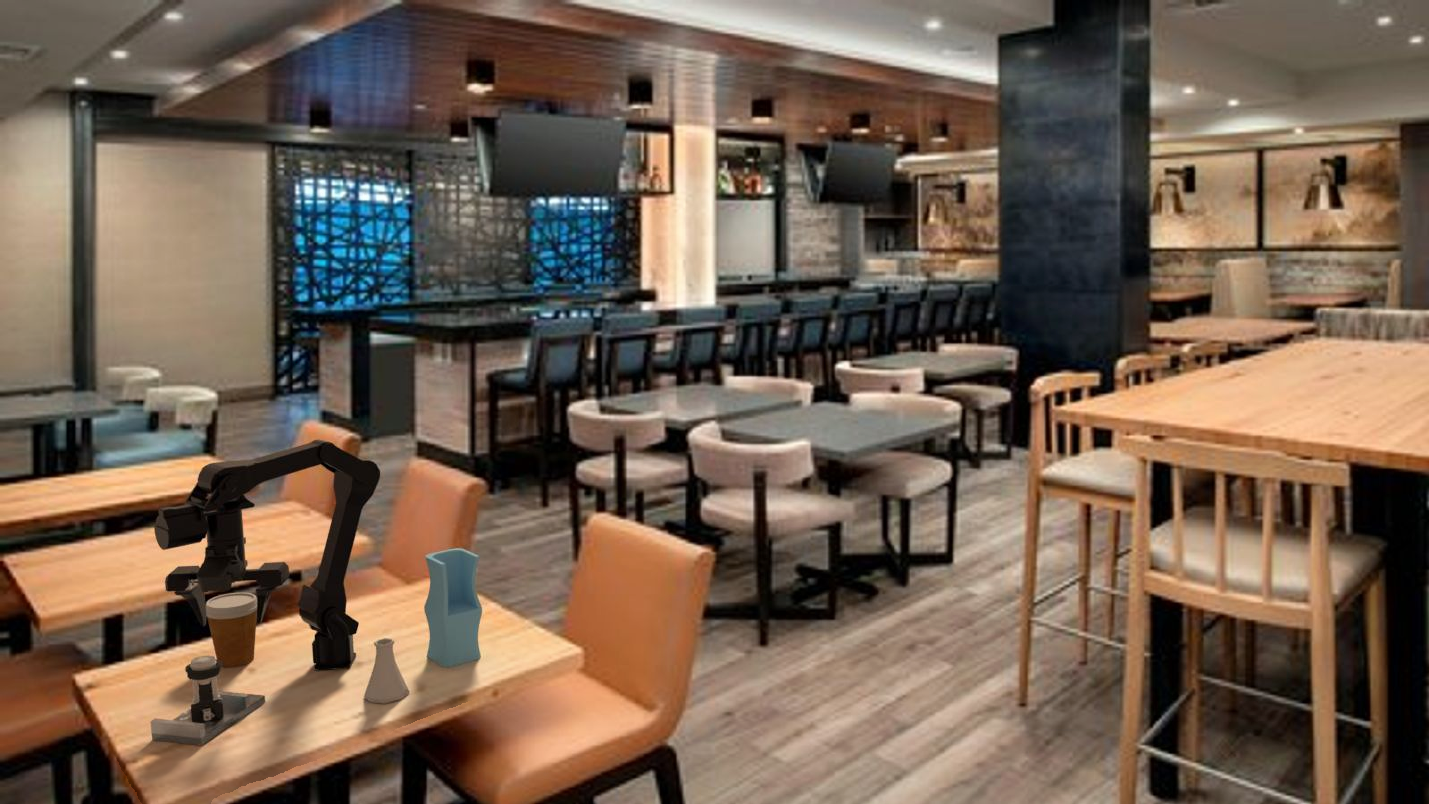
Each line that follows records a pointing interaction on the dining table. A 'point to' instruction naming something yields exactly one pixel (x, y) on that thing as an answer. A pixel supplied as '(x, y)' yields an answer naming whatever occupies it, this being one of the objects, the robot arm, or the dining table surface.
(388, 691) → the flask
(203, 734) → the bracket
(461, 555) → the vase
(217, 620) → the disposable coffee cup
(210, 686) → the push button
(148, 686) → the dining table surface
